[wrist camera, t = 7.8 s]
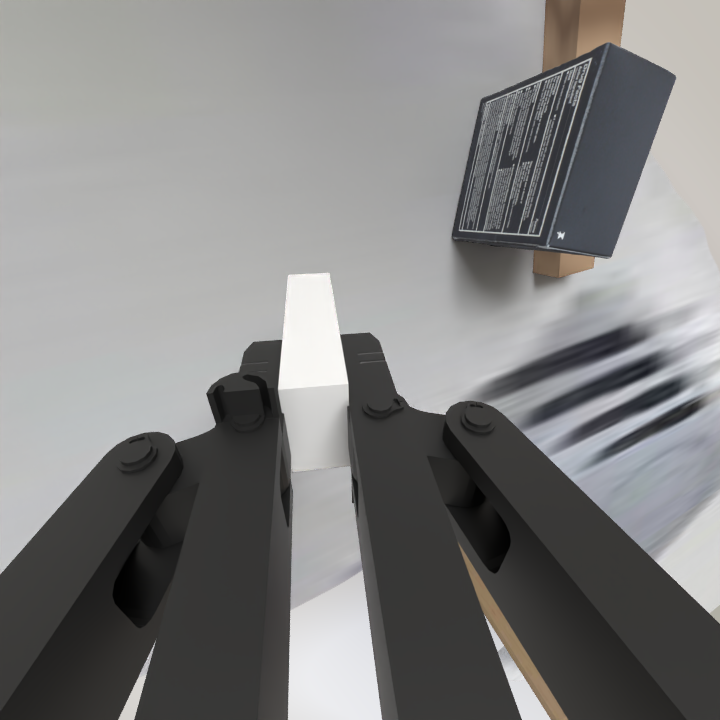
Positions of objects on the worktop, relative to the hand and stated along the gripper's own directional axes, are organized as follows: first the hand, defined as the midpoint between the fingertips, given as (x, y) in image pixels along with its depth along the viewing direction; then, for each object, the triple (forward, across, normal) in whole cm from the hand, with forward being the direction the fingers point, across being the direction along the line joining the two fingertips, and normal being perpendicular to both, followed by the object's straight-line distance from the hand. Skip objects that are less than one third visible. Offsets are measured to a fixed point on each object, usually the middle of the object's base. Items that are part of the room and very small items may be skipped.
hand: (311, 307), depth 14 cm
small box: (+19, +16, +2) cm, 25 cm away
